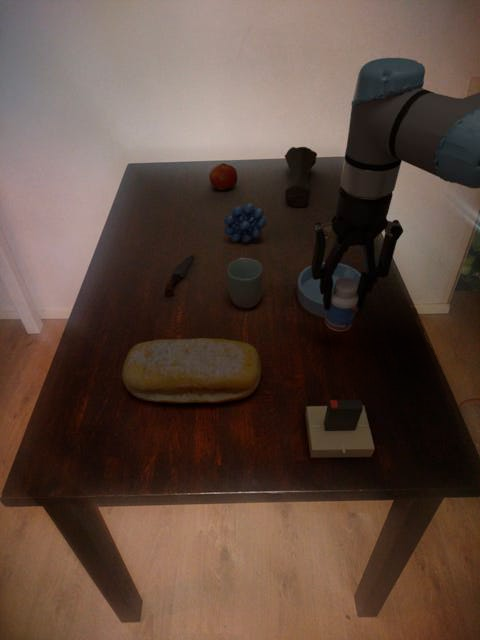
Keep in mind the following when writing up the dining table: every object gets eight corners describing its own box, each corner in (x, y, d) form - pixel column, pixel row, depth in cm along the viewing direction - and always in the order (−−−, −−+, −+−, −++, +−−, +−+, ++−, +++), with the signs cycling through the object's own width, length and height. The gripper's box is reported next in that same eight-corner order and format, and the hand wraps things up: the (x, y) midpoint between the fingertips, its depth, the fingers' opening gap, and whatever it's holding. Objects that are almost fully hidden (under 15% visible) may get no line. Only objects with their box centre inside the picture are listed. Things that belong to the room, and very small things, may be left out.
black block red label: (353, 421, 65) (361, 398, 59) (355, 430, 63) (363, 407, 58) (323, 422, 65) (328, 399, 60) (324, 431, 64) (330, 408, 58)
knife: (170, 293, 91) (153, 282, 92) (169, 299, 93) (152, 288, 93) (207, 260, 102) (191, 250, 103) (205, 266, 104) (190, 256, 104)
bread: (262, 408, 71) (262, 383, 65) (120, 411, 71) (108, 387, 66) (259, 351, 80) (259, 325, 74) (134, 355, 81) (124, 330, 75)
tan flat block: (360, 411, 69) (363, 401, 67) (372, 460, 63) (376, 452, 61) (304, 412, 70) (306, 402, 67) (310, 461, 63) (312, 453, 61)
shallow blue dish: (374, 289, 91) (377, 276, 89) (344, 329, 83) (347, 316, 80) (317, 267, 98) (319, 254, 95) (284, 301, 90) (285, 288, 87)
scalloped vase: (293, 172, 140) (290, 221, 123) (280, 148, 133) (275, 197, 116) (321, 159, 134) (322, 209, 118) (309, 133, 128) (308, 182, 111)
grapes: (267, 234, 110) (267, 195, 101) (266, 248, 105) (266, 208, 96) (227, 233, 111) (224, 195, 102) (224, 247, 106) (220, 208, 97)
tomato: (205, 189, 130) (202, 166, 124) (222, 178, 135) (220, 155, 129) (226, 196, 126) (224, 173, 120) (243, 185, 130) (242, 162, 125)
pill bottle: (351, 334, 73) (361, 296, 66) (323, 330, 74) (329, 293, 67) (352, 314, 77) (362, 276, 70) (325, 310, 78) (331, 273, 71)
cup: (257, 316, 87) (256, 282, 80) (225, 309, 89) (221, 276, 82) (266, 294, 92) (267, 260, 85) (236, 288, 94) (234, 255, 87)
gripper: (422, 173, 57) (386, 289, 74) (299, 178, 58) (291, 292, 75) (440, 199, 52) (397, 317, 69) (305, 203, 53) (294, 319, 70)
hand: (342, 304), depth 72 cm, fingers closed on pill bottle, 5 cm apart
